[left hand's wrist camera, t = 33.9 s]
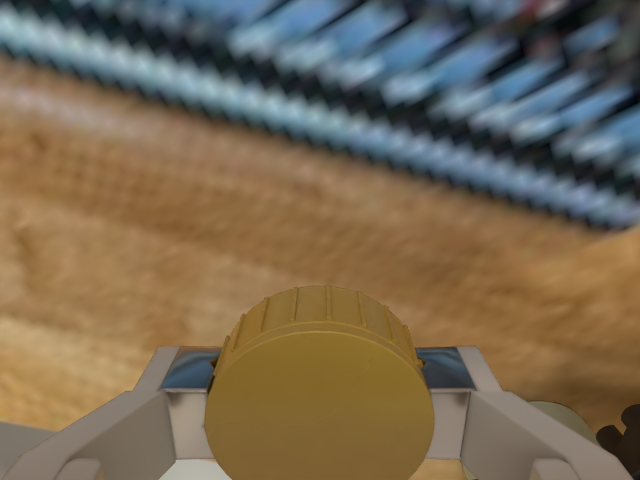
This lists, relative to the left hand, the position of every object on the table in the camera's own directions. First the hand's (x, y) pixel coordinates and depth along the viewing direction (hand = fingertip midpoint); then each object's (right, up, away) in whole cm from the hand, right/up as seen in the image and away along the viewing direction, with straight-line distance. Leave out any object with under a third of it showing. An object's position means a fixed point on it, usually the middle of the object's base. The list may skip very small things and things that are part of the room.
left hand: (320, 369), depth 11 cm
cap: (0, -1, -2) cm, 2 cm away
